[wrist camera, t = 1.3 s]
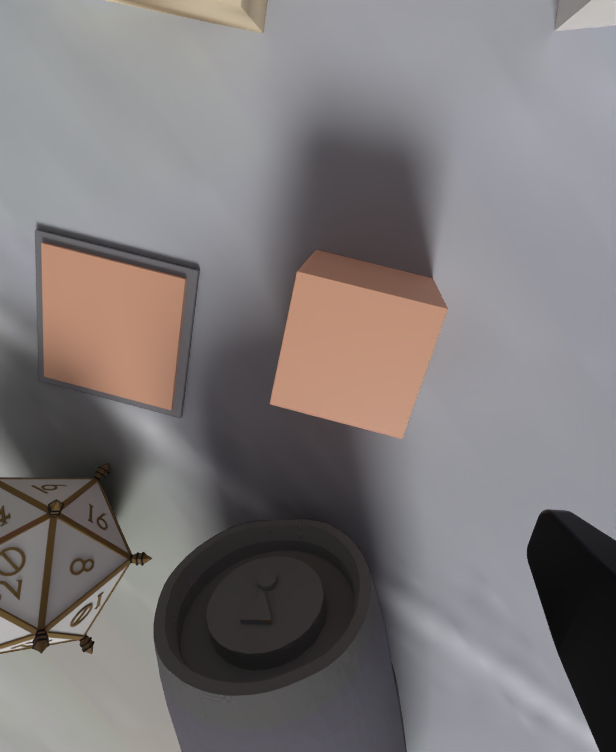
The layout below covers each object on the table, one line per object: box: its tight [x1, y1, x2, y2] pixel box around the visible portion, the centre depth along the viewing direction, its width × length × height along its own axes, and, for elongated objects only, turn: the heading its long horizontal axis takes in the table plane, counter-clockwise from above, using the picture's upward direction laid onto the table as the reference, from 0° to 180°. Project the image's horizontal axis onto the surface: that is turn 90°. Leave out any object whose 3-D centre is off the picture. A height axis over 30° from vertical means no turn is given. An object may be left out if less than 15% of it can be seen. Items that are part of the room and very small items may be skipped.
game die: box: [0, 463, 152, 654], centre depth 21 cm, size 9×8×10 cm
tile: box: [35, 230, 200, 418], centre depth 20 cm, size 7×7×1 cm
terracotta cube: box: [270, 250, 448, 439], centre depth 17 cm, size 4×4×4 cm
